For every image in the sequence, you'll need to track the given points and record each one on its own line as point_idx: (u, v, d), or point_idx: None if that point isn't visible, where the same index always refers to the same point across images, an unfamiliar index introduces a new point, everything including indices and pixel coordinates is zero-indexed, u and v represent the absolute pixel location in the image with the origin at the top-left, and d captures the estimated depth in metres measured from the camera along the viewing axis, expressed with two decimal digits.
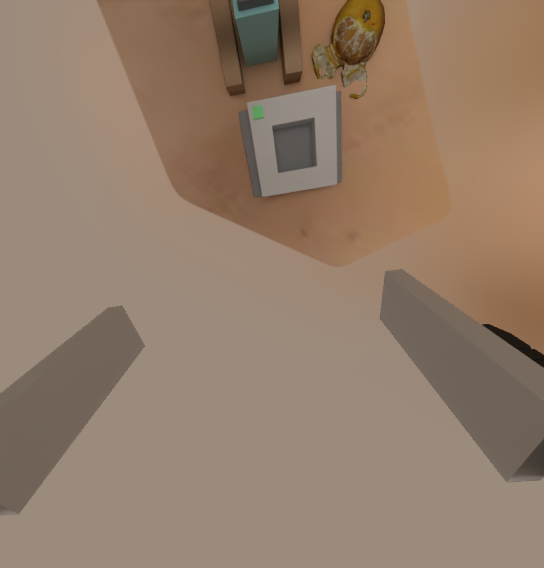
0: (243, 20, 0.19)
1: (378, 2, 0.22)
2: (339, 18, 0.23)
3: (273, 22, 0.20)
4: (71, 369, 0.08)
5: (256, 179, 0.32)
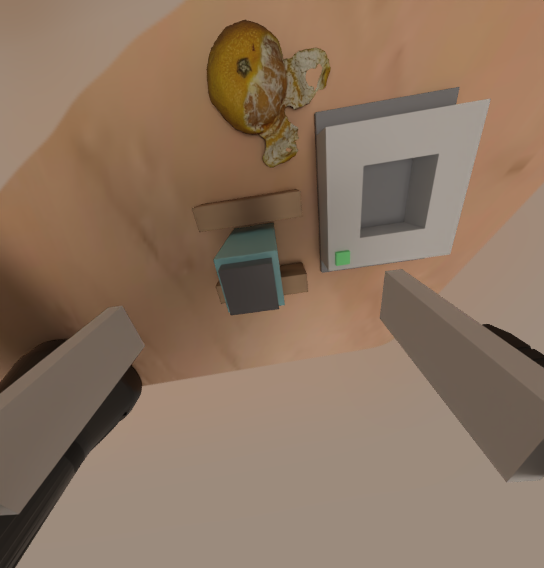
0: None
1: (225, 42, 0.13)
2: (241, 124, 0.15)
3: None
4: (71, 369, 0.08)
5: None
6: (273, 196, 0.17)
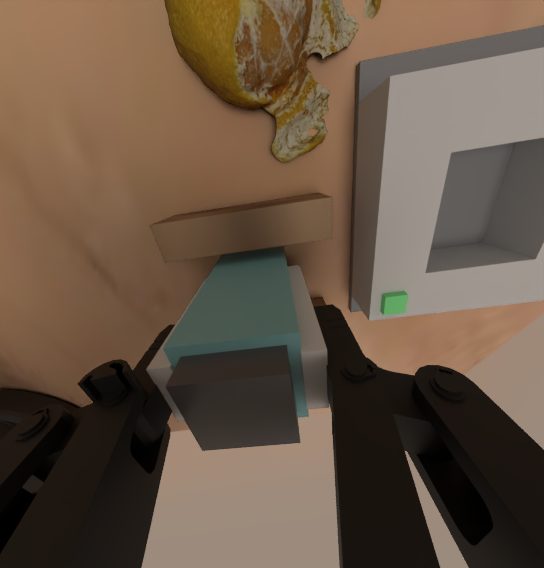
0: None
1: None
2: (233, 87, 0.08)
3: None
4: None
5: None
6: (285, 206, 0.10)
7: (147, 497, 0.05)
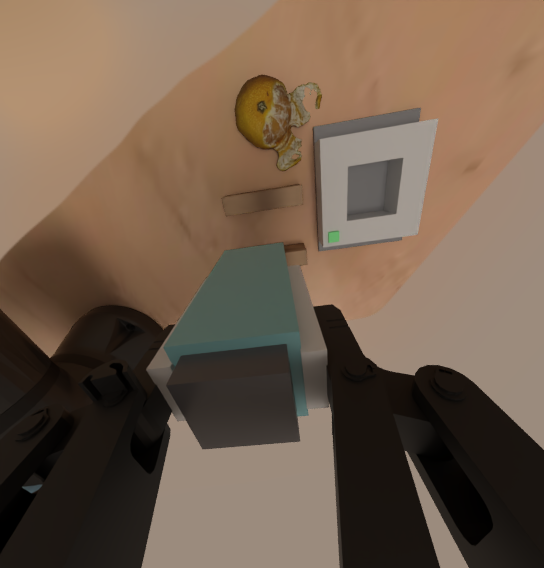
0: None
1: (248, 92, 0.19)
2: (261, 143, 0.21)
3: None
4: None
5: None
6: (281, 189, 0.23)
7: (147, 497, 0.05)
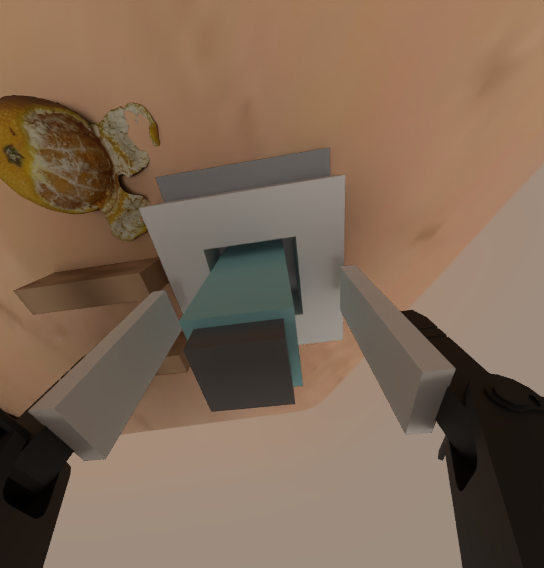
0: None
1: None
2: (57, 210, 0.12)
3: None
4: (133, 342, 0.09)
5: None
6: (108, 278, 0.14)
7: (35, 543, 0.05)
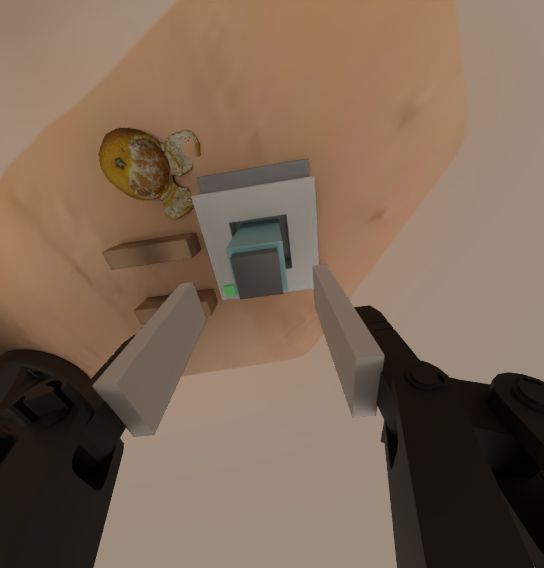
0: None
1: (103, 148, 0.17)
2: (136, 197, 0.20)
3: None
4: (170, 328, 0.09)
5: None
6: (165, 243, 0.21)
7: (96, 514, 0.05)
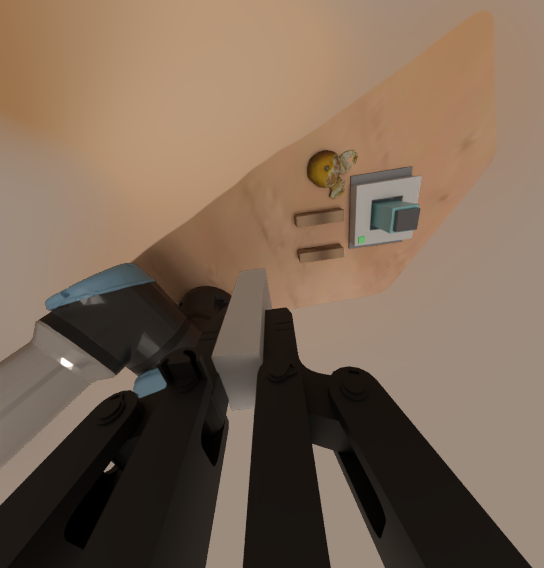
0: None
1: (319, 161, 0.35)
2: (323, 185, 0.37)
3: None
4: None
5: None
6: (332, 212, 0.39)
7: (212, 490, 0.05)
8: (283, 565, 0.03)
